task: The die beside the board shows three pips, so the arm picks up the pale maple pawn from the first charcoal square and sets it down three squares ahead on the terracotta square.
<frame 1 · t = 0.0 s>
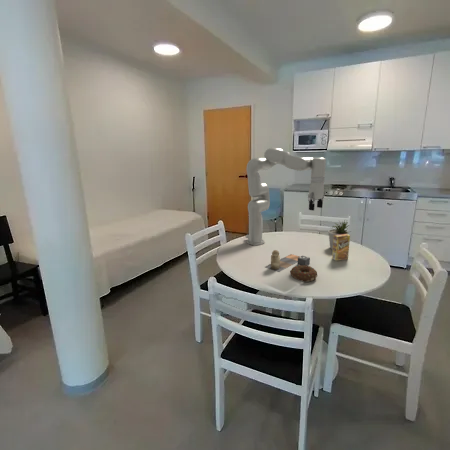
hand: (315, 208, 174), 31 cm above the table, tool pointing down, fingers open, 9 cm apart
die: (303, 265, 171), on the table
candy box: (339, 259, 180), on the table
pawn: (275, 267, 166), point 1 cm above the table, touching board
board: (285, 263, 174), on the table
donut: (303, 278, 156), on the table
potted plant: (337, 248, 198), on the table
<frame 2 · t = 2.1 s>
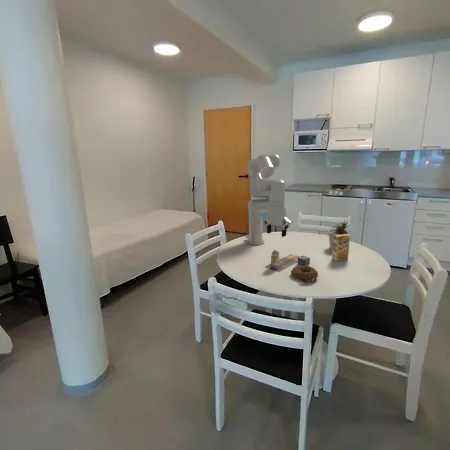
hand: (276, 234, 161), 21 cm above the table, tool pointing down, fingers open, 9 cm apart
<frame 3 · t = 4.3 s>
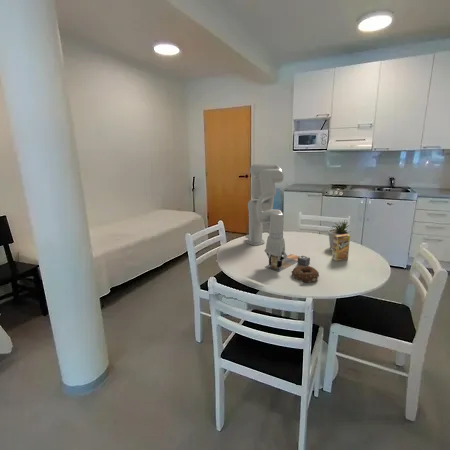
hand: (275, 265, 166), 2 cm above the table, tool pointing down, fingers closed on pawn, 4 cm apart
pawn: (275, 267, 166), point 1 cm above the table, touching board, gripper
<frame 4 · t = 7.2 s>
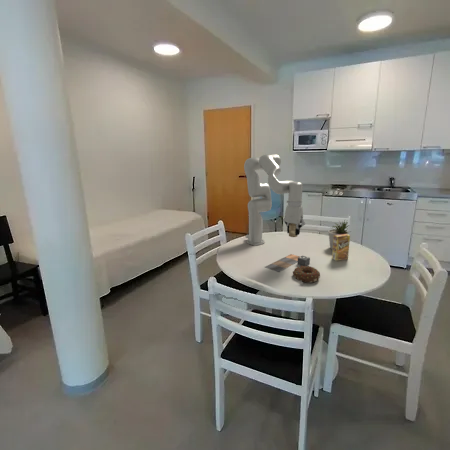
hand: (293, 233, 174), 17 cm above the table, tool pointing down, fingers closed on pawn, 4 cm apart
pawn: (293, 235, 175), point 16 cm above the table, touching gripper
when the fingers open (4 cm above the table, at t = 10.5 s): pawn drops 1 cm, resting on board.
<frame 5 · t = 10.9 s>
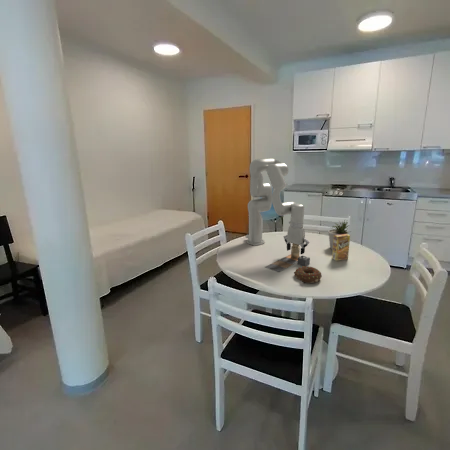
hand: (295, 251, 180), 5 cm above the table, tool pointing down, fingers open, 9 cm apart
pawn: (295, 257, 181), point 1 cm above the table, touching board
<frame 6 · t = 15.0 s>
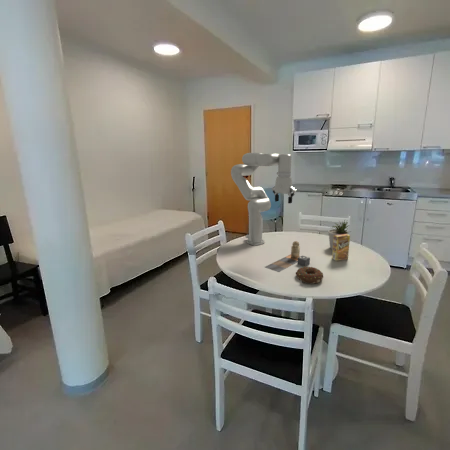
hand: (283, 202, 184), 33 cm above the table, tool pointing down, fingers open, 9 cm apart
at the end: pawn inside the target area (0.0 cm from its centre), point 1.0 cm above the table; pawn tilted 0°; the gripper is holding nothing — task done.
